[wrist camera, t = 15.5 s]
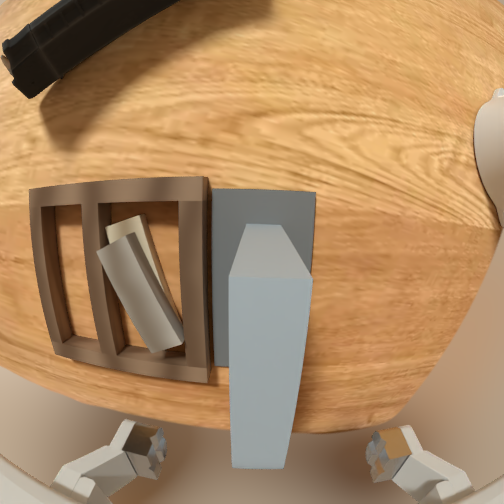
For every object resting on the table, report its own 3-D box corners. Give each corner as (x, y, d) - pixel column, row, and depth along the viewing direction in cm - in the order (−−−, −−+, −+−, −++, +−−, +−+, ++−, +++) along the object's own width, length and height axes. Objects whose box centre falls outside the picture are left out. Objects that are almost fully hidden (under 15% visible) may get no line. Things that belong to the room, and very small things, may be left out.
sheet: (280, 224, 25) (312, 278, 10) (273, 345, 27) (283, 468, 13) (246, 223, 25) (228, 276, 10) (243, 344, 27) (232, 467, 13)
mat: (314, 192, 24) (315, 192, 24) (298, 365, 28) (299, 368, 28) (213, 188, 25) (212, 188, 24) (215, 362, 29) (214, 365, 28)
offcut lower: (147, 212, 26) (139, 214, 24) (187, 332, 28) (183, 341, 27) (114, 224, 26) (104, 227, 24) (155, 337, 29) (149, 346, 27)
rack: (208, 177, 24) (202, 176, 22) (211, 369, 29) (207, 383, 26) (42, 188, 25) (29, 189, 22) (65, 345, 29) (55, 354, 27)
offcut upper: (134, 231, 24) (125, 235, 22) (187, 333, 26) (182, 344, 24) (106, 247, 25) (96, 251, 23) (157, 343, 27) (151, 353, 25)
